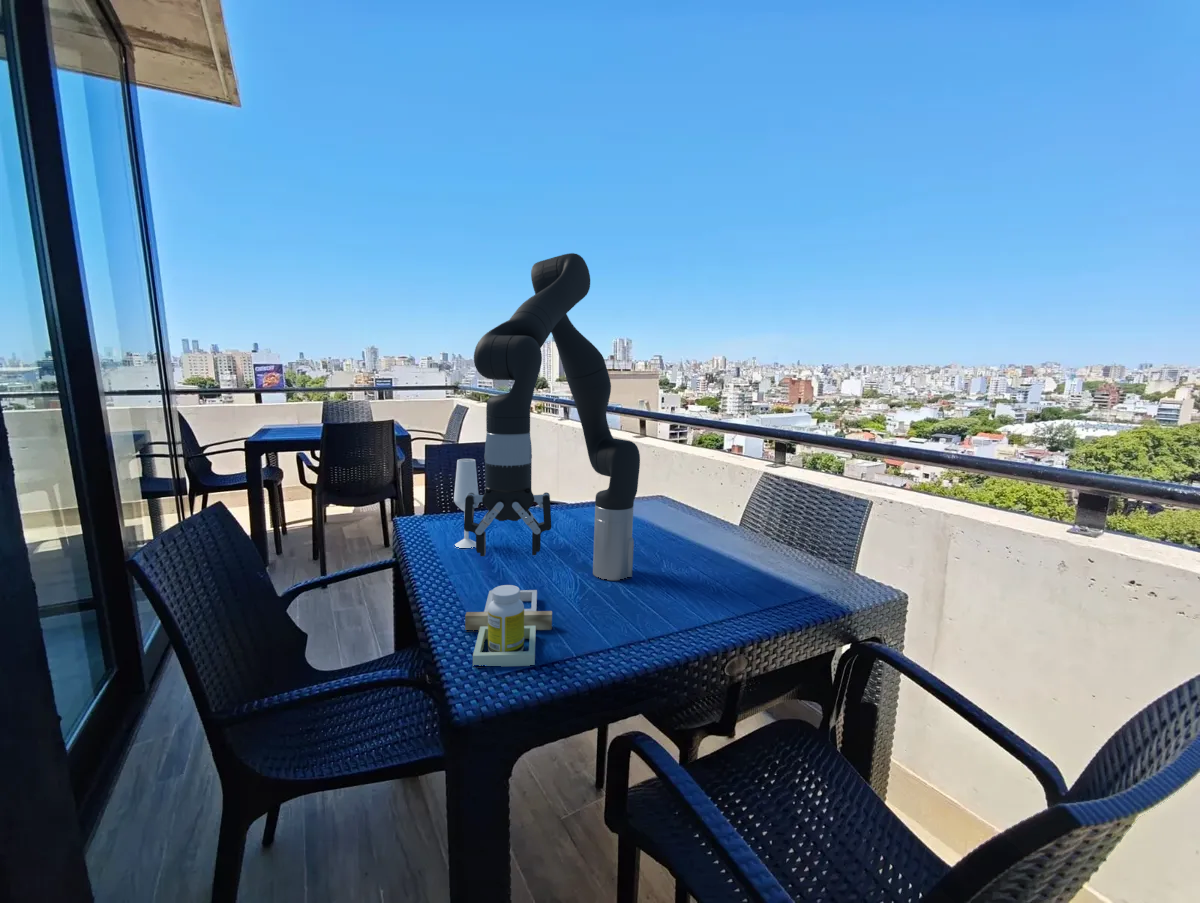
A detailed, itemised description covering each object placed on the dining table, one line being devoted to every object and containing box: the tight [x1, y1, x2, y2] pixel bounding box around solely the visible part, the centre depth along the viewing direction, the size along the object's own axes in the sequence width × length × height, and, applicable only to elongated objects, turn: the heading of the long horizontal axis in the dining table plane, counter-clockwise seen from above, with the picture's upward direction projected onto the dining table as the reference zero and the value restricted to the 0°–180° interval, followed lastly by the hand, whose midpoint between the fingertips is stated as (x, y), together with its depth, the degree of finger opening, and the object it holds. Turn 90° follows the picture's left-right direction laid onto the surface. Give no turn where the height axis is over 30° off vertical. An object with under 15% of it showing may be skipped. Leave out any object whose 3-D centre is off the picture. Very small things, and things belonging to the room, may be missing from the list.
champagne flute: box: [453, 458, 479, 549], centre depth 143 cm, size 7×7×24 cm
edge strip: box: [464, 610, 553, 632], centre depth 98 cm, size 16×2×3 cm, turn 96°
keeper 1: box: [483, 589, 538, 612], centre depth 106 cm, size 10×10×2 cm
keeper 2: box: [472, 626, 537, 667], centre depth 90 cm, size 10×10×2 cm
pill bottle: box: [487, 584, 525, 652], centre depth 89 cm, size 6×6×11 cm
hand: (508, 554), depth 87 cm, fingers open, 8 cm apart
